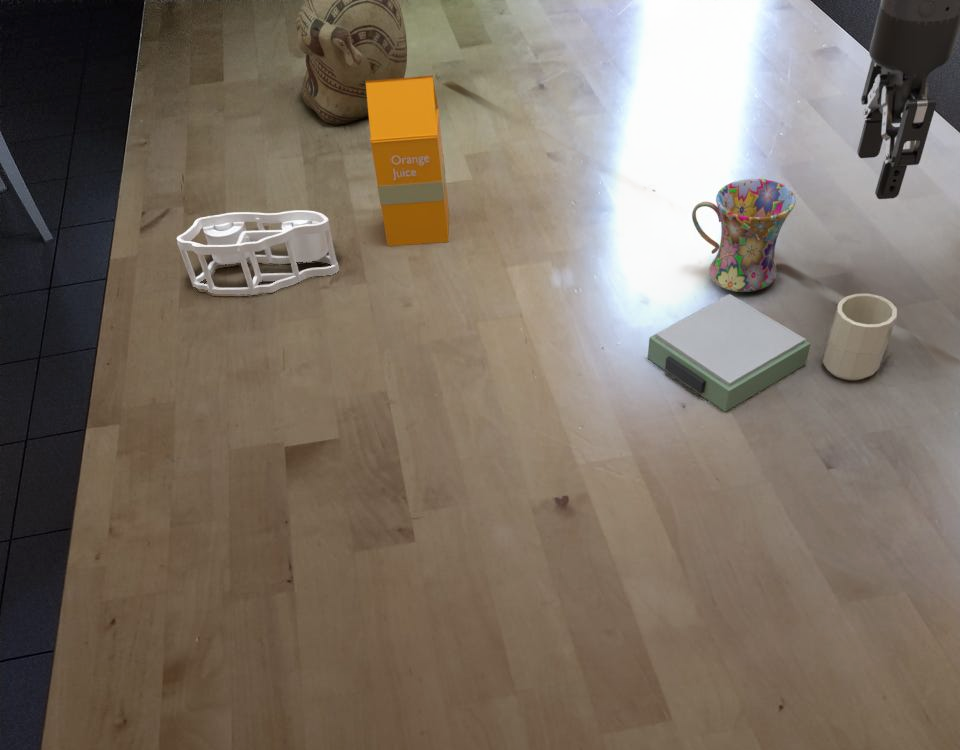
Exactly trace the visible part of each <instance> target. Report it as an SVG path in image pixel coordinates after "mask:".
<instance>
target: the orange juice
mask: <svg viewBox="0 0 960 750" xmlns="http://www.w3.org/2000/svg"><path fill="white" fill-rule="evenodd" d="M365 82H366V92H367V103H368V114H369V116H368V124H369V134H370V138H369V142H370V147H371V152H372V154H371V155H372V160H373V165H374V171H375V172H374V173H375V178H376V183H377V184H376V185H377V192H378V198H379V203H380V208H381V214H382V220H383V225H384V226H383V227H384V233H385V238H386V244H387V245H386V246H387V247H396V246H408V245H423V244H435V243H448V242H449V237H450V236H449V235H450V233H449V232H450V207H449V199H448V190H447V179H446V167H445V157H444V156H445V155H444V150H443V139H442V132H441V130H442V129H441V121H440V111H439V110H440V109H439V106H438V105H439V104H438V99H437V94H436V93H437V92H436V88H435V87H436V86H435V81H434V75H427V76H426V75H424V76H412V77H404V78H398V79H386V80H373V81H365Z"/></svg>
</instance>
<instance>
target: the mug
mask: <svg viewBox="0 0 960 750" xmlns="http://www.w3.org/2000/svg"><path fill="white" fill-rule="evenodd" d="M796 199H797V198H796V195H795V193H794V192H793V191H792V190H791V189H790V188H789V187H788V186H786V185H784V184H782V183H781V182H777V181H774V180H771V179H766V178H765V179H764V178H746V179H745V178H744V179H739V180H735V181H733V182H730V183H728V184H726V185H723V187H721V189H720V190H719V191H718V192H717V194H716V198H715V202H716V204H714V203H713V202H710V201H702V202H699V203H697V204H696V205H695V206H694V208H693V210H692V213H691V219H692V222H693V225H694V227H695V229H696V231H697V233H698V234H699V235H700V237H702V239H703V240H704V241H706V242H707V243H708V244H710V245H711V246H713V247H714V248H713V249H712V250H711V254H712V255H714V254H716V253H717V254H716V255H715V257H714V259H713V260H712V262H711V264H710V266H709V268H708V273H709V277H710V279H711V280H712V281H713V282H714V283H715V284H716V285H717V286H719V287H721V288H723V289H724V290H728V291H731V292H737V293H752V292H757V291H760V290H763V289H765V288H767V287H769V286H770V285H772V284H773V282H774V281H775V279H776V277H777V275H778V272H777V271H778V269H777V266H776V263H775V249H776V244H777V239H778V236H779V234H780V231H781V229H782V227H783V225H784V224H785V221H786V220H787V218H788V217H789V215H790V214H791V212H792V211H793V209H794V208H795V206H796V202H797V200H796ZM702 207H707V208H710V209H712V210H713V211H714V212H715V213H716V216H717V218H718V222H719V223H720V225H721V229H720V231H721V233H720V234H721V235H720V242H719V243H718V242H717V241H715V240H714V239H713V238H711V237H710V236H709V235H707V234H706V232H704V229H702V227H701V225H700V224H699V220H698V219H697V210H698V209H700V208H702Z"/></svg>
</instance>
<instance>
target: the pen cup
mask: <svg viewBox="0 0 960 750" xmlns="http://www.w3.org/2000/svg"><path fill="white" fill-rule="evenodd" d="M897 317H898V309H897V306H895V305H894V303H893V302H892V301H891V300H889V299H887V298H885V297H883V296H882V295H877V294H872V293H869V292H867V293H866V292H865V293H853V294H850V295H847V296H845V297H843V298H842V299H840V301H839V302H838V303H837V306H836V309H835V313H834V317H833V319H832V323H831V327H830V330H829V333H828V337H827V342H826V345H825V348H824V352H823V356H822V364H823V365H824V367H825V369H826V370H827V371H828V372H829V373H830V374H832V375H833V376H834V377H836V378H839V379H842V380H846V381H860V380H863V379H866V378H868V377H871V376H873V375H874V374H875V373H876V372H877V371H878V370H879V369H880V367H881V364H882V360H883V357H884V355H885V352H886V349H887V346H888V343H889V341H890V337H891V336H892V335H891V334H892V332H893V329H894V326H895V323H896V320H897Z"/></svg>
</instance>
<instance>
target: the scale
mask: <svg viewBox="0 0 960 750" xmlns="http://www.w3.org/2000/svg"><path fill="white" fill-rule="evenodd" d="M811 344H812V343H811V342H810V341H808V340H807V339H806V338H805V337H803V336H801V335H799V334H798V333H796V332H794V331H793V330H791V329H790V328H788V327H786V326H784V325H782V324H781V323H779V322H778V321H776V320H774V319H773V318H771V317H769V316H767V315H766V314H764V313H762V312H761V311H759V310H757V309H756V308H754V307H753V306H750V305H749V304H747V303H746V302H744V301H743V300H741V299H739V298H737V297H735V296H734V295H732V294H731V293H729V294H727V295H724V296H722V297H721V298H719V299H717V300H716V301H714V302H712V303H710V304H708V305H706V306H704V307H703V308H701V309H699V310H697V311H695V312H693V313H692V314H689V315H688V316H686V317H684V318H683V319H681V320H679V321H677V322H675V323H672V324H671V325H670V326H668V327H666V328H664V329H662V330H660V331H659V332H656V333H655V334H653V335H651V336H650V337H649V339H648V347H647V348H648V350H647V360H649V361H651V362H652V363H654V364H655V365H656V366H657V367H659V368H661V369H662V370H663V371H665V372H666V373H668V374H669V375H671V376H672V377H674V378H675V379H677V381H679V382H681V383H683V384H684V385H685V386H686V387H688V388H689V389H691V390H692V391H694V392H695V393H696V394H698V395H700V396H701V397H702V398H704V399H705V400H706V401H708V402H710V403H711V404H712V405H714V406H715V407H717V408H719V409H720V410H721V411H723V412H724V413H726V412H728V411H729V410H731V409H733V408H734V407H737V406H738V405H740V404H742V403H743V402H745V401H746V400H748V399H750V398H751V397H753V396H755V395H756V394H758V393H760V392H761V391H763V390H765V389H766V388H768V387H770V386H771V385H773V384H775V383H776V382H779V381H780V380H782V379H784V378H786V377H787V376H788V375H791V374H792V373H793V372H795V371H797V370H798V369H800V368H802V367H803V366H805V365H806V363H807V360H808V354H809V351H810V348H811Z"/></svg>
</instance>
